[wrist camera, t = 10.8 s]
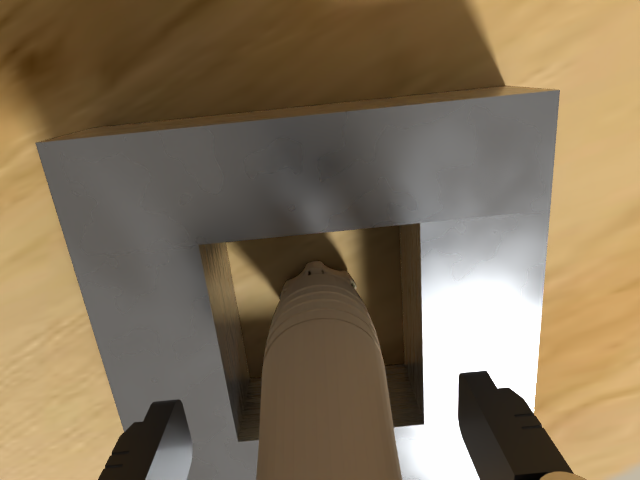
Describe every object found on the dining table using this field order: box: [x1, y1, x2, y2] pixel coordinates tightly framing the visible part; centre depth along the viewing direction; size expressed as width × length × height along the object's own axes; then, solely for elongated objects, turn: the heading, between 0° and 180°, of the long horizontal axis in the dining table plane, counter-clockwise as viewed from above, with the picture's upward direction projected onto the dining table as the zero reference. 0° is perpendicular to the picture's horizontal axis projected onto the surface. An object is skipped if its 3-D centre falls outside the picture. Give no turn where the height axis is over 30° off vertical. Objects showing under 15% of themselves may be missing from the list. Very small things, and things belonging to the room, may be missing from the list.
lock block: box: [36, 86, 560, 480], centre depth 19 cm, size 16×16×4 cm
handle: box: [256, 261, 402, 480], centre depth 13 cm, size 5×6×15 cm
